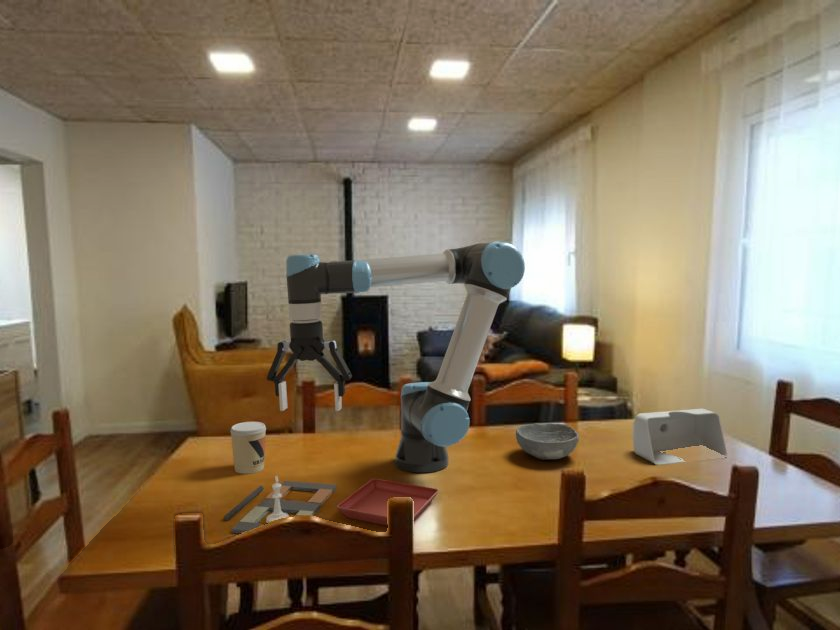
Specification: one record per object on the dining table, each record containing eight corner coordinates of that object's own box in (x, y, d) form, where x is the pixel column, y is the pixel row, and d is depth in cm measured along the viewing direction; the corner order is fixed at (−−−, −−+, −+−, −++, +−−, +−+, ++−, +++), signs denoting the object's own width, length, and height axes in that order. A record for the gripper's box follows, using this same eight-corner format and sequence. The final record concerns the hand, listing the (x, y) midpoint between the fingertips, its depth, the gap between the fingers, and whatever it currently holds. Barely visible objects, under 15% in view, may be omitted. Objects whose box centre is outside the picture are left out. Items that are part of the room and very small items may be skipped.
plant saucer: (372, 489, 138) (372, 476, 137) (440, 501, 131) (440, 488, 130) (335, 520, 121) (335, 506, 121) (409, 536, 114) (409, 521, 114)
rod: (259, 489, 137) (259, 484, 137) (264, 489, 137) (264, 485, 136) (223, 521, 120) (222, 515, 120) (228, 521, 120) (227, 516, 120)
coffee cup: (256, 476, 145) (255, 432, 144) (224, 473, 147) (223, 430, 146) (273, 463, 154) (272, 422, 153) (242, 461, 156) (241, 420, 155)
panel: (336, 487, 138) (336, 484, 138) (294, 538, 112) (294, 534, 112) (284, 483, 140) (284, 480, 140) (231, 532, 115) (231, 528, 115)
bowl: (509, 462, 155) (510, 435, 155) (522, 443, 172) (522, 418, 171) (574, 471, 149) (575, 443, 148) (581, 451, 165) (582, 425, 164)
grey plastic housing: (688, 440, 175) (690, 402, 174) (728, 458, 159) (730, 416, 158) (620, 447, 169) (621, 407, 168) (654, 465, 153) (656, 422, 152)
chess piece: (268, 527, 117) (267, 482, 116) (264, 517, 121) (262, 474, 121) (291, 522, 119) (290, 478, 118) (286, 513, 124) (285, 470, 123)
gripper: (361, 317, 129) (366, 405, 132) (262, 319, 133) (267, 404, 135) (353, 321, 122) (358, 414, 124) (248, 323, 126) (254, 413, 128)
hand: (311, 409), depth 130 cm, fingers open, 13 cm apart
